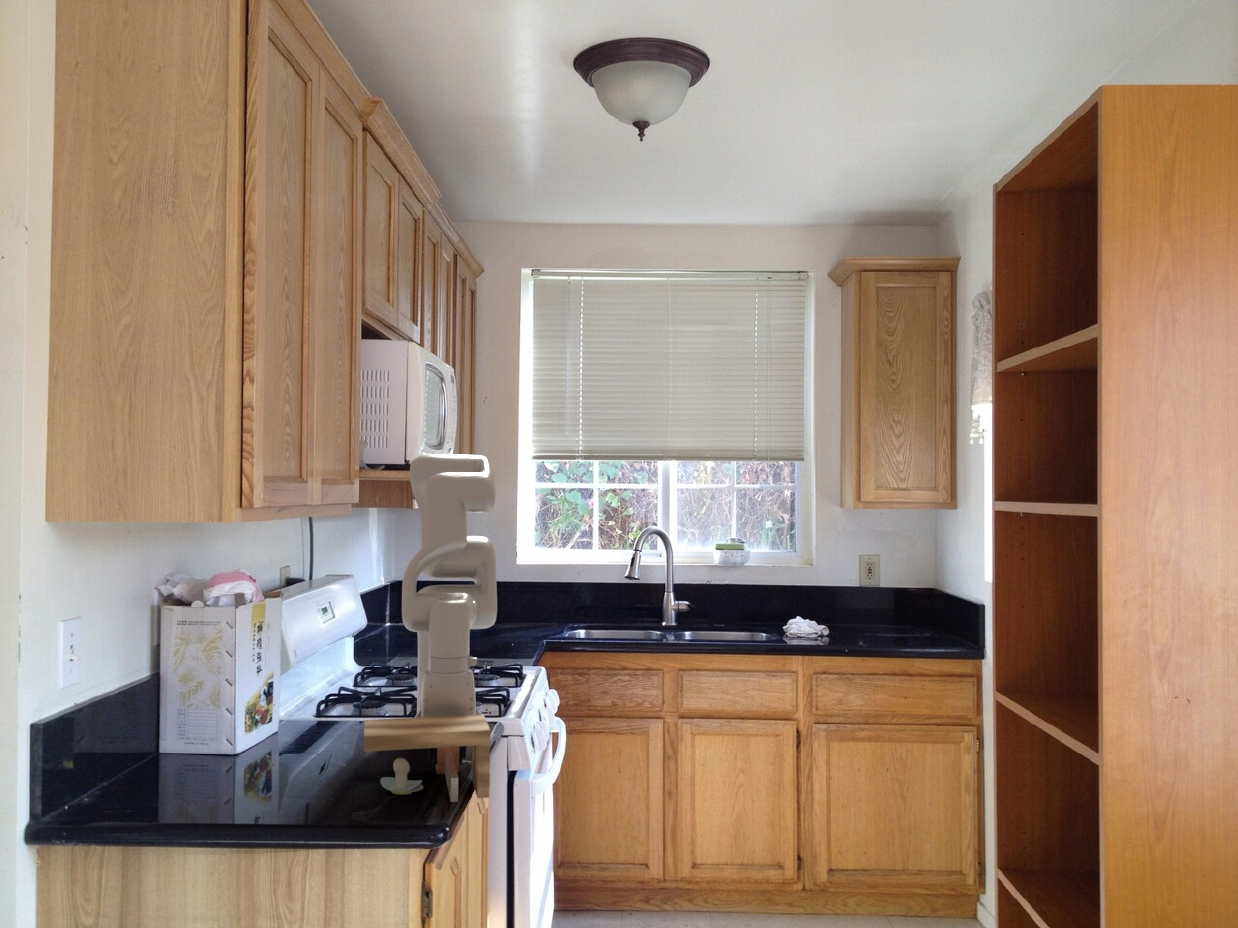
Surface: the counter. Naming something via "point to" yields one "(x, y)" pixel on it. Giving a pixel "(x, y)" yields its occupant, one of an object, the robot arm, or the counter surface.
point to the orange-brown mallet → (449, 768)
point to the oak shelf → (436, 739)
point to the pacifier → (401, 779)
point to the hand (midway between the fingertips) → (447, 761)
